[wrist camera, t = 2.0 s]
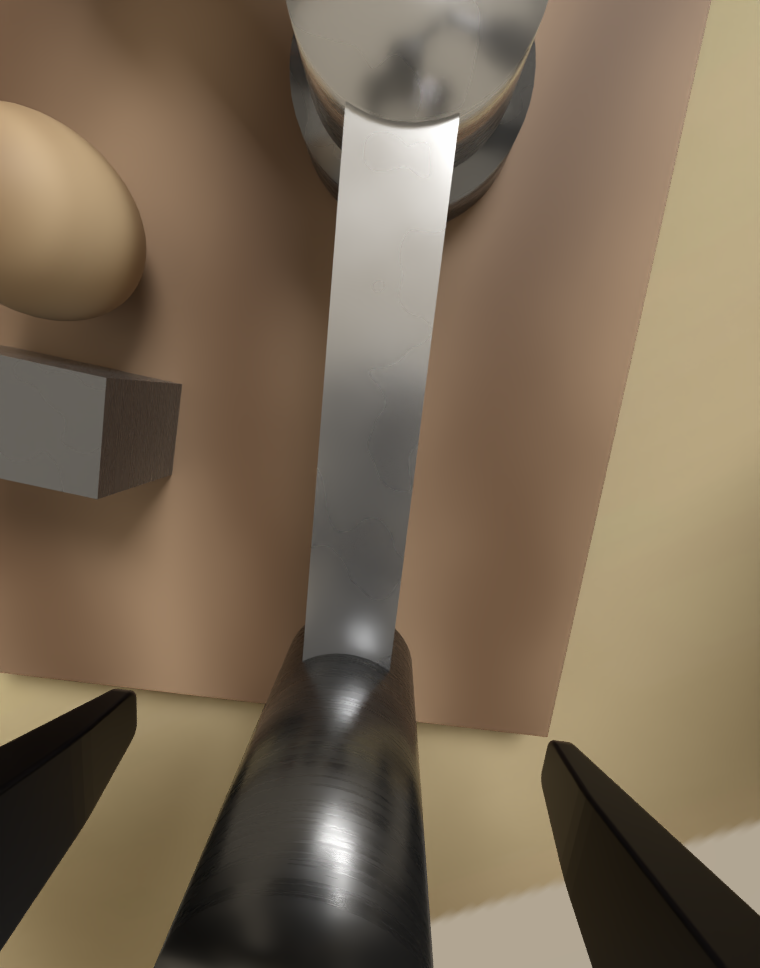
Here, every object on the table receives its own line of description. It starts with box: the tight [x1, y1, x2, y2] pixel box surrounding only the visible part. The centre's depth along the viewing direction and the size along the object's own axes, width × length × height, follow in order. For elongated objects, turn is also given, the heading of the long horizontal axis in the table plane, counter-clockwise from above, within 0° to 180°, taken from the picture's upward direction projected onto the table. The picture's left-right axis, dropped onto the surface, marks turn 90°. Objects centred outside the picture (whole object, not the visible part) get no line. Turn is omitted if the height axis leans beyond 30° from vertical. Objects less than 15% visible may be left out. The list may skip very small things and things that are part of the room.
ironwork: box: [0, 33, 536, 499], centre depth 8 cm, size 15×5×3 cm, turn 129°
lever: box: [154, 0, 548, 968], centre depth 6 cm, size 21×9×7 cm, turn 174°
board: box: [0, 0, 711, 737], centre depth 10 cm, size 17×25×1 cm
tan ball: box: [0, 101, 147, 321], centre depth 8 cm, size 4×4×4 cm
